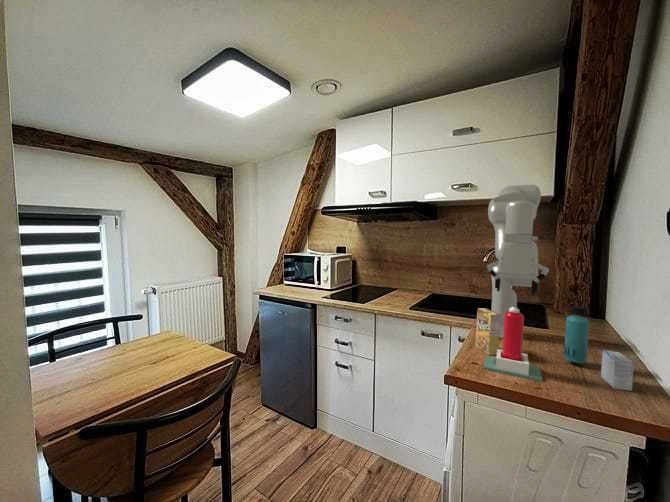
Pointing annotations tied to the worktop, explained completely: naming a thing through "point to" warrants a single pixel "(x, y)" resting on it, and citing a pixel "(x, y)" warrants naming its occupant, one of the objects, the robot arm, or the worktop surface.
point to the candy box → (487, 331)
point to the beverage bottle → (576, 336)
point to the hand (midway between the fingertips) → (515, 292)
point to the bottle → (513, 334)
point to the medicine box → (617, 370)
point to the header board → (513, 366)
